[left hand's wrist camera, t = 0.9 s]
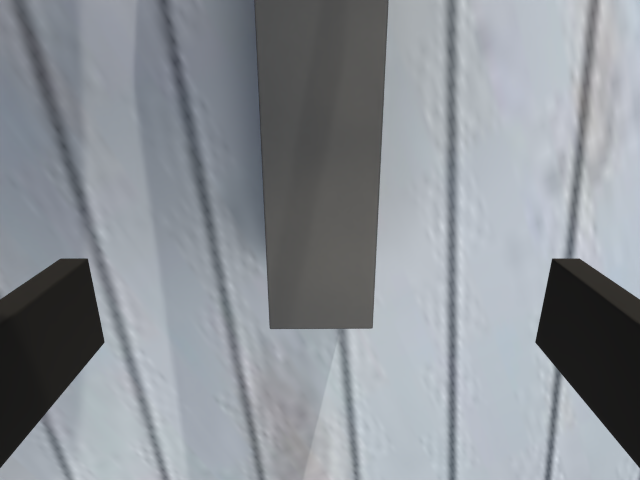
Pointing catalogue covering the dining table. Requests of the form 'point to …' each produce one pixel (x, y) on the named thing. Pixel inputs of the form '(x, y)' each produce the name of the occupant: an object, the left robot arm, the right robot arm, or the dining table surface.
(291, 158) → the post
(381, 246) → the dining table surface
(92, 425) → the dining table surface
